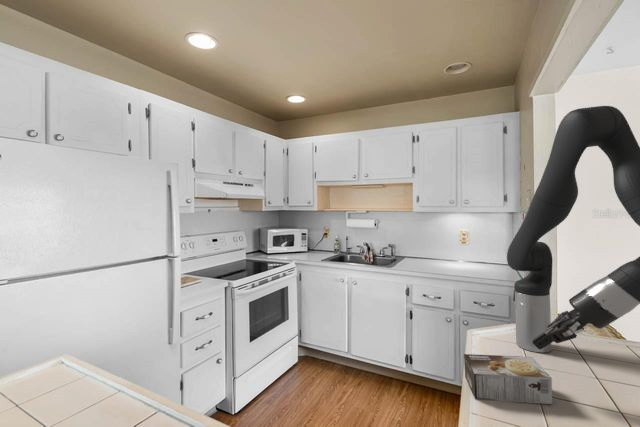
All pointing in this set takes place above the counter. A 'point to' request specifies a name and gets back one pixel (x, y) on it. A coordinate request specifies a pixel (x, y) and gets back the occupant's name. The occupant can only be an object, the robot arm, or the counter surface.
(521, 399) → the coffee box
